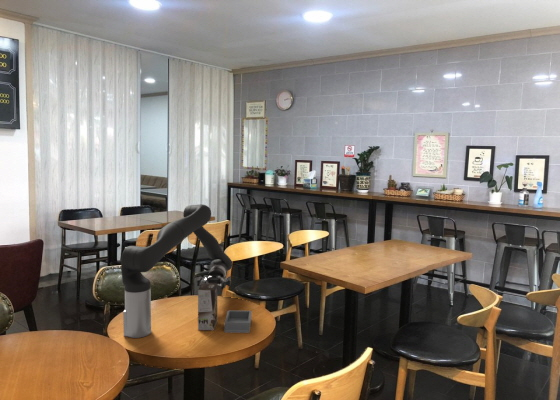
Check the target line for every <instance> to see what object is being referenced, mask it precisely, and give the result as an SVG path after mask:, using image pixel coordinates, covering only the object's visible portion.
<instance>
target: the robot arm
mask: <svg viewBox="0 0 560 400" xmlns="http://www.w3.org/2000/svg"><path fill="white" fill-rule="evenodd" d="M211 218H212V210H211V208H210V207H209V206H208V205H206V204H191V205H187V206H185V208H184V209H183V217H181V218H178V219H175V220H173V221H171V222H169V223H167V224H166V225H164V226H162V228H160V230H159V231H158V233H157V235H156V241H155V242H153V244H151V245H149V246H138V245H129V246H126V247H124V249H123V252H122V254H121V257H120V266H121V267H120V269H121V281H122V284H123V287H124V310H123V311H122V320H123V322H122V323H123V337H127V338H131V339H133V338H134V339H138V338H144V337H147V336H149V335H150V334H151V333H152V303H151V302H152V299H151V298H152V297H151V296H152V294H151V290H152V289H151V287H152V286H151V281H150V279H149V278H147V277H146V276H144V274H143V273H147V272H149V271H151V270H152V268H154V267H155V266H156V265H157V264H158V263H159V262H160V261H161V259H163V257H165V255H167V254H169V252H170V251H172V250H173V249H174V248H176V247H177V246H178V245H179V244H181V243H182V242H183V241H185V240H186V239H187V238H189V236H190V235H192V234H193V233H194V235H195V236H196V238H197V239H198V240H199V242H200V243H201V245H202V246H203V249H204V250H205V252H206V254H207V256H208V258H209V259H211V260H212V261H211V262H210V270H209V271H208V273H207V276H206V277H203V276H199V277H198V278H197V280H196V286H197V287H200V286H201V285H202V283H217V287H218V286H220V287H221V288H220V289H221V290H224V289H225V288H226V287H230V286H231V284H232V283H231V281H232V280H231V279H232V276H227V275H226V274H227V272H228V271H231V269H232V267H233V261H232V259H231V257H230V256H228V255H227V254H226V253H225V252H224V251H223V249H222V247H221V245H220V243H219V241H218V239H217V238H216V237H215V236H214V235H213V234H211V233H210V232H209V231H208V229H206V228H205V227H204V226H205V225H207V224H208V223H209V222H210V220H211ZM226 276H227V277H226Z"/></svg>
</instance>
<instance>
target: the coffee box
mask: <svg viewBox="0 0 560 400" xmlns="http://www.w3.org/2000/svg"><path fill="white" fill-rule="evenodd" d="M197 298H198V299H197V329H198V331H200V330H201V331H214V330H215V328H216V326H217V324H218V286H217V283H202V285H201V286H199V288H198V290H197Z"/></svg>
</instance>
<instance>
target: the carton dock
mask: <svg viewBox="0 0 560 400" xmlns="http://www.w3.org/2000/svg"><path fill="white" fill-rule="evenodd" d="M251 323H252V310H238V309H237V310H236V309H235V310H227V311H226V317H225V320H224V327H223V328H224V330H223V331H224V333H232V334H233V333H239V334H241V333H242V334H244V333H245V334H246V333H247V334H250V333H251V332H250V331H251V326H252V325H251Z"/></svg>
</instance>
